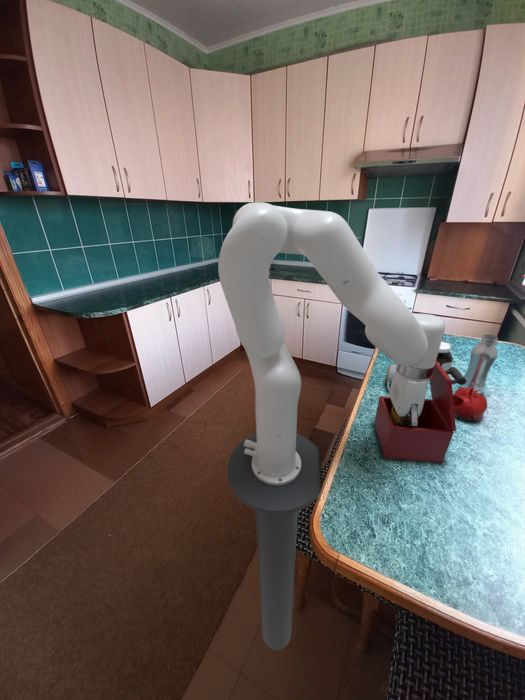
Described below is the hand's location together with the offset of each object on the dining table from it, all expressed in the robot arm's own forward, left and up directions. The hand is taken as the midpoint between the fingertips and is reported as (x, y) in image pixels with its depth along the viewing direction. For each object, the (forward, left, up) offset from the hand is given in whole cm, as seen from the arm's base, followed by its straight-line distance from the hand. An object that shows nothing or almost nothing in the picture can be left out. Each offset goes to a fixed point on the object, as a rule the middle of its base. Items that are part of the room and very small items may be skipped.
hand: (399, 426), depth 75 cm
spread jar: (+12, +43, -5) cm, 45 cm away
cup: (0, 0, 0) cm, 0 cm away
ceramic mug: (0, +27, -5) cm, 27 cm away
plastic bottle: (+22, +33, -5) cm, 40 cm away
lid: (+6, +2, +12) cm, 14 cm away
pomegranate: (+18, +20, -5) cm, 27 cm away
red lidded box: (+2, +1, -5) cm, 6 cm away
